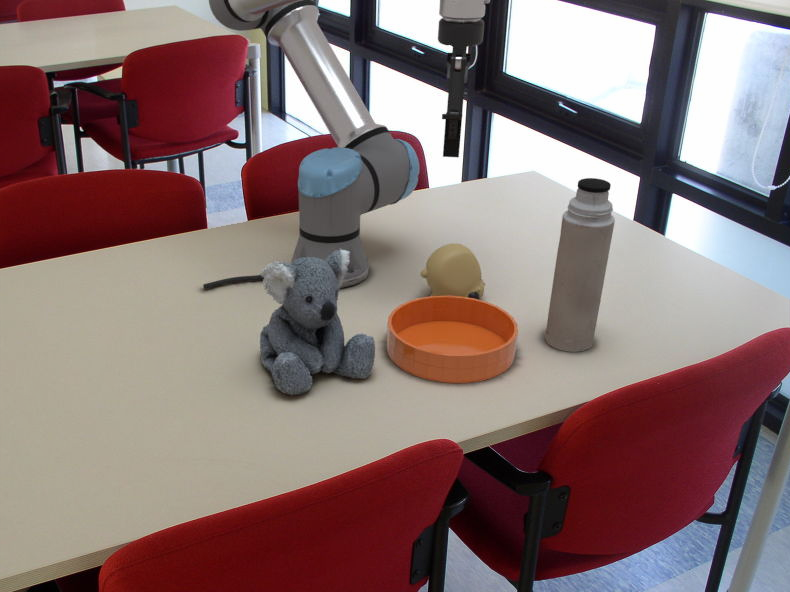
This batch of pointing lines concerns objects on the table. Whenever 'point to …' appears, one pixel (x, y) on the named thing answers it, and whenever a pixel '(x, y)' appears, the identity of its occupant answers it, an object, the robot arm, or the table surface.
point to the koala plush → (310, 324)
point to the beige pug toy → (454, 272)
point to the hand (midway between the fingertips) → (452, 144)
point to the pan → (451, 339)
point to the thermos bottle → (580, 267)
